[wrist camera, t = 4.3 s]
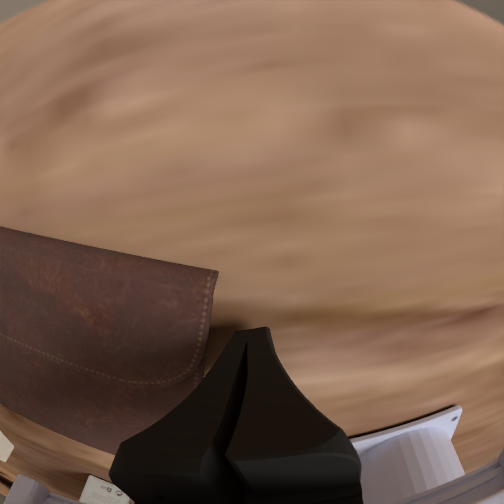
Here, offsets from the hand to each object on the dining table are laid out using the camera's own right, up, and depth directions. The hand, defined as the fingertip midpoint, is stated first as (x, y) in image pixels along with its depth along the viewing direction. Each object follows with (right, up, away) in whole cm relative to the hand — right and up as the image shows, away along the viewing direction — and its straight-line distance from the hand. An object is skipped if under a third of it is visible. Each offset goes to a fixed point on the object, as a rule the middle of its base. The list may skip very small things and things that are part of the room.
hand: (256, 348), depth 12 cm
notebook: (-12, -2, +3) cm, 13 cm away
